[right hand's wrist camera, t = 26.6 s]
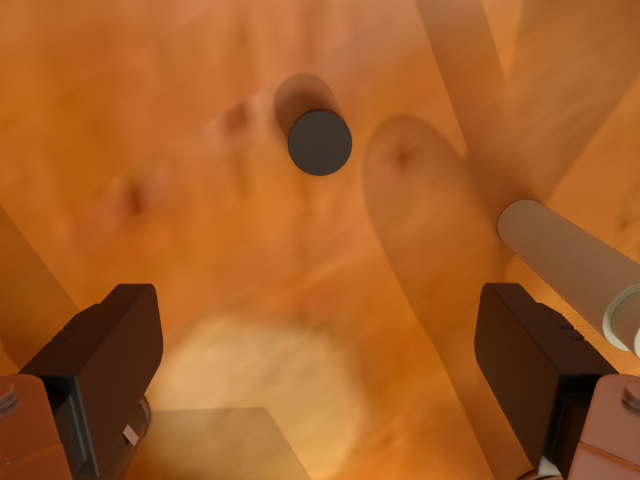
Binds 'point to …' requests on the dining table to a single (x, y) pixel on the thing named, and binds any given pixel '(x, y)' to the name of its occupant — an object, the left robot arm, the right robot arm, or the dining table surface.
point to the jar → (578, 269)
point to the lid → (320, 142)
